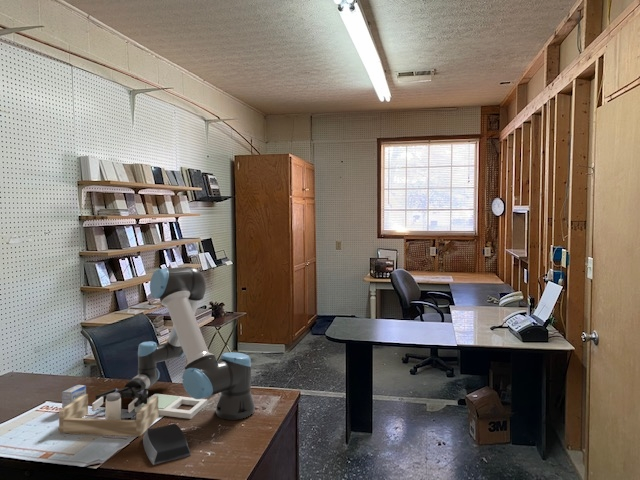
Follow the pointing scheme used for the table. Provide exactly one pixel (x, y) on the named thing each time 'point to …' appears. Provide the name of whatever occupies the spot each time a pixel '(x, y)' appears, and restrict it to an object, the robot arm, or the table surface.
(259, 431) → the table surface
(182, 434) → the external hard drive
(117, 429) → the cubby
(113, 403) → the cream bottle
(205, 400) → the hole board
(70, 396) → the medicine box
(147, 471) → the table surface
